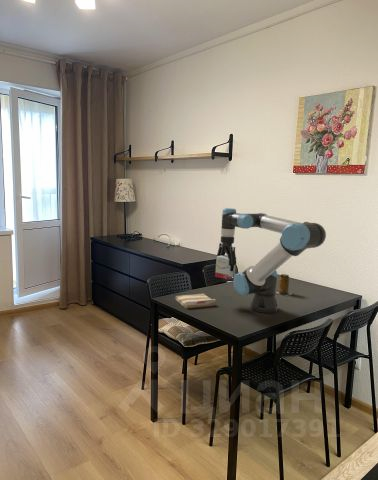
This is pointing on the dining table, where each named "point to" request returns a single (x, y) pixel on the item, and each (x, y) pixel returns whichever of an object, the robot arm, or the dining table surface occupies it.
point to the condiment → (284, 285)
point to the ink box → (223, 267)
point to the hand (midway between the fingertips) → (225, 273)
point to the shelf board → (195, 300)
